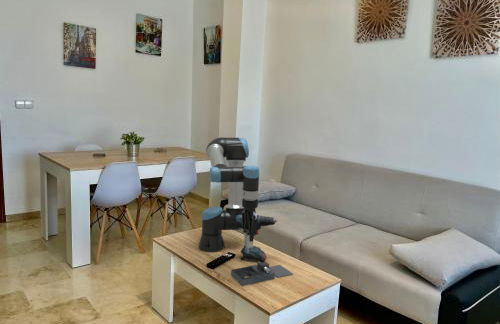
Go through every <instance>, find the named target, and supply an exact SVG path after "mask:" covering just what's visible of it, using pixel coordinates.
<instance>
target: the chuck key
mask: <svg viewBox="0 0 500 324" xmlns="http://www.w3.org/2000/svg"><path fill="white" fill-rule="evenodd" d="M242 233H246V247H245V253H247V254H249V253H251V248H247V242H248V234H249V228H246V229H245V230H244V229H242Z"/></svg>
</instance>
